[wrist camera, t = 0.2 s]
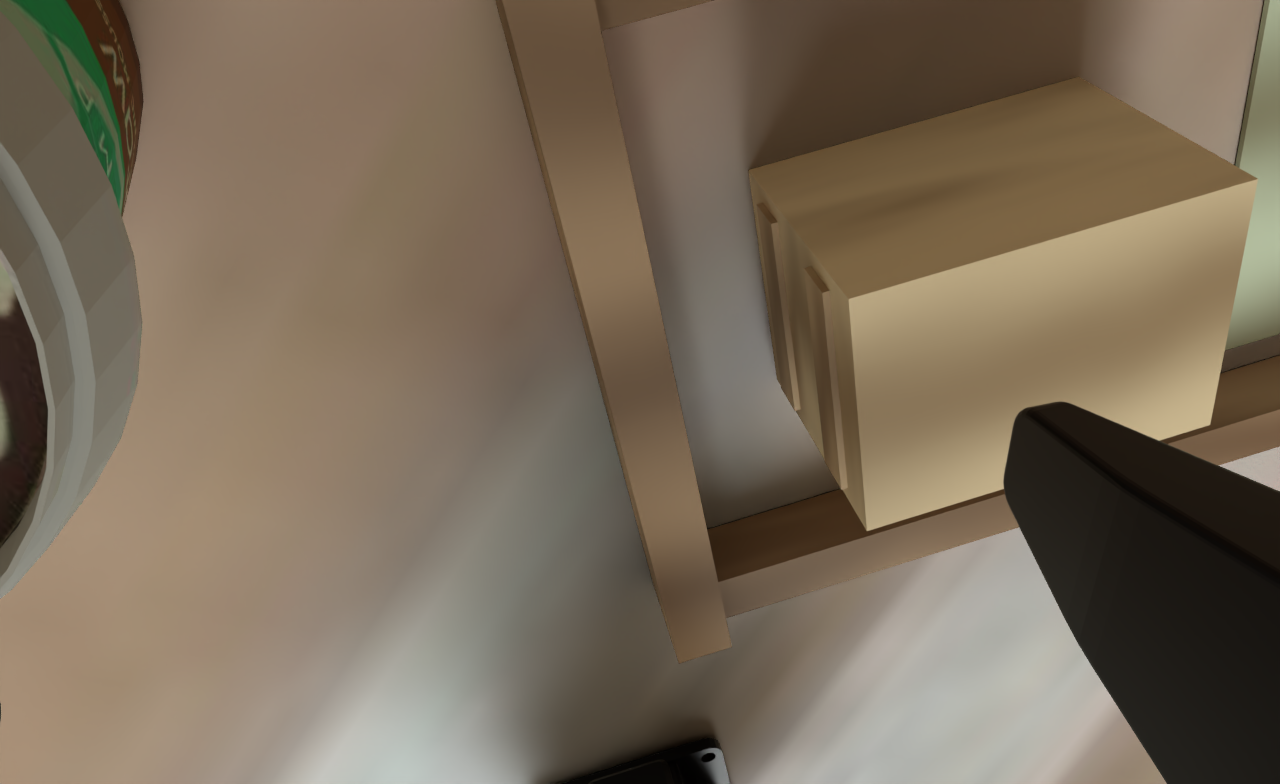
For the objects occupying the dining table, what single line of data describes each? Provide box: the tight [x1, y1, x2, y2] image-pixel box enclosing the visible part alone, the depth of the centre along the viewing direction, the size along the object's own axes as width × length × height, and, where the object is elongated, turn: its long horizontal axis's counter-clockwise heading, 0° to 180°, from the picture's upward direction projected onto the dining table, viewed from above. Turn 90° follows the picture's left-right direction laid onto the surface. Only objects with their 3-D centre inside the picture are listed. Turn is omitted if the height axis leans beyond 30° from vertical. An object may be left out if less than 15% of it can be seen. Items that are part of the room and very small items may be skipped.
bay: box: [496, 0, 1280, 663], centre depth 24 cm, size 18×26×3 cm
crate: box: [748, 77, 1258, 531], centre depth 23 cm, size 6×8×6 cm
